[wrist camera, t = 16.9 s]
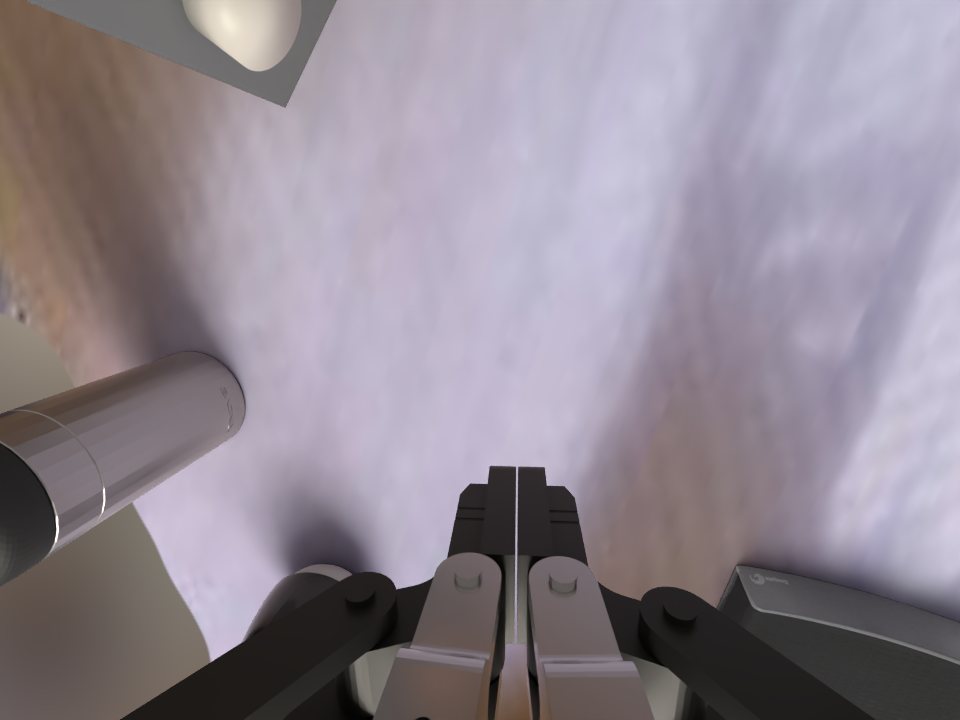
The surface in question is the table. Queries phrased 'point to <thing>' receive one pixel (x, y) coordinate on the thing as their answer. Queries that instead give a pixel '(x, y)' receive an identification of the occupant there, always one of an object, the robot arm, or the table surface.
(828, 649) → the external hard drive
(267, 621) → the dark grey tapered speaker
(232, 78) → the knob mount
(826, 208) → the table surface
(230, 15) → the cream knob
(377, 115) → the table surface
